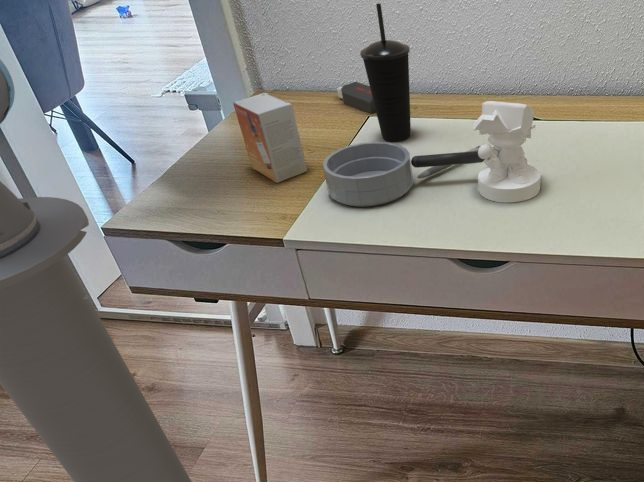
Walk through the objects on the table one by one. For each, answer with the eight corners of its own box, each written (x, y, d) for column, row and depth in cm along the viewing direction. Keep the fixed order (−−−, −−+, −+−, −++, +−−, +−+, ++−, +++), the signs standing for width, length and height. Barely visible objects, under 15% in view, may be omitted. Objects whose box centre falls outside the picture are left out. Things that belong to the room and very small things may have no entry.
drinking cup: (398, 149, 101) (379, 12, 88) (364, 140, 105) (341, 7, 92) (428, 132, 106) (414, 0, 93) (395, 124, 109) (377, -4, 96)
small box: (251, 169, 99) (231, 101, 92) (283, 157, 102) (265, 91, 95) (276, 184, 94) (256, 114, 87) (308, 171, 97) (292, 102, 90)
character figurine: (468, 197, 87) (462, 110, 79) (494, 168, 93) (491, 86, 86) (528, 206, 84) (528, 117, 76) (550, 176, 90) (553, 91, 82)
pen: (487, 152, 98) (486, 144, 97) (420, 184, 91) (419, 175, 90) (482, 151, 98) (482, 142, 98) (415, 182, 91) (414, 173, 91)
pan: (324, 212, 86) (317, 181, 83) (334, 173, 96) (328, 145, 93) (412, 205, 86) (408, 174, 83) (413, 167, 96) (410, 138, 93)
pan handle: (411, 170, 89) (410, 159, 88) (411, 165, 90) (410, 154, 89) (486, 163, 89) (485, 153, 87) (485, 159, 90) (484, 148, 89)
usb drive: (371, 113, 114) (369, 98, 113) (334, 100, 121) (331, 85, 120) (393, 105, 117) (391, 90, 115) (356, 92, 124) (354, 78, 122)
